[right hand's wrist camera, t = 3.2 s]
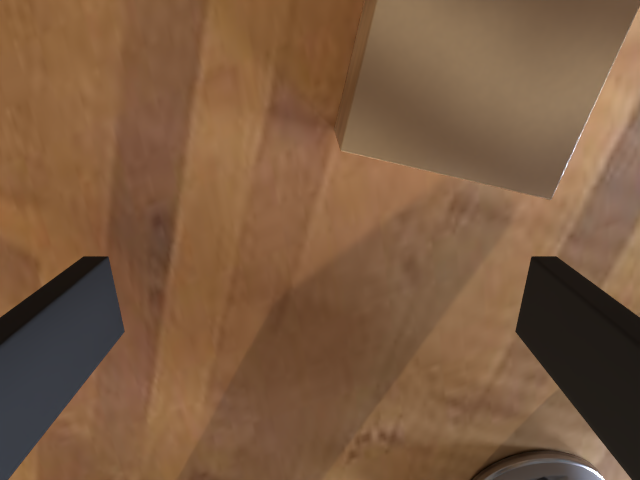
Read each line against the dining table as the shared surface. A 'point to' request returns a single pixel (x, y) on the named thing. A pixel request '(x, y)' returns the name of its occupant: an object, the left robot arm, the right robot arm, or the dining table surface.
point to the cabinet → (479, 85)
